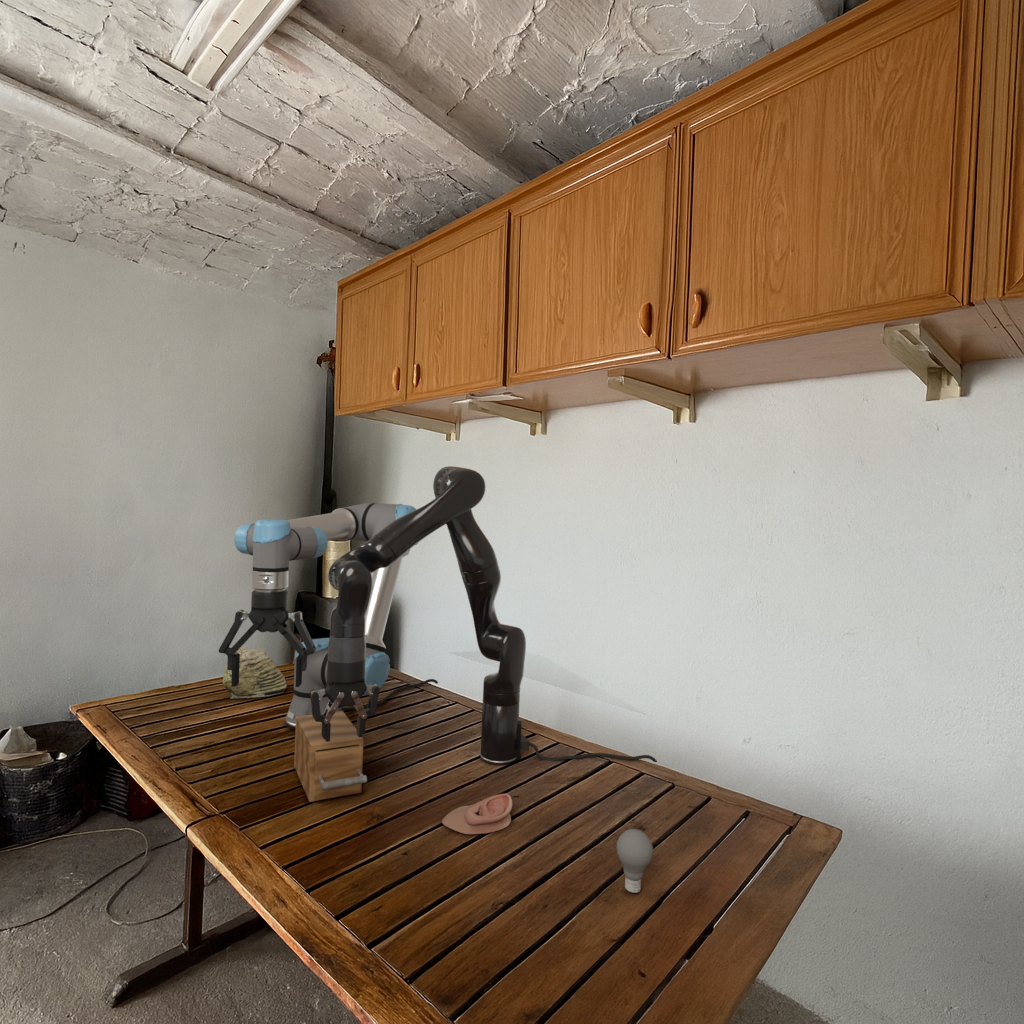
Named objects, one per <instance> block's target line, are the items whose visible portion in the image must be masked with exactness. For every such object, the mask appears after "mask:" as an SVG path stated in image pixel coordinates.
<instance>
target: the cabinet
mask: <svg viewBox="0 0 1024 1024" xmlns="http://www.w3.org/2000/svg"><path fill="white" fill-rule="evenodd" d="M322 714H323V713H322ZM330 723H331V730H330V741H329V742H326V741H325V739H323V737H322V735H321V732H322V722H316V721H315V720H314V718H313V715H305V716H297V717H296V729H295V730H294V733H295V734H294V757H293V760H294V762H293V767H294V769H295V772H296V774H297V776H298V779H299V781H300V783H301V785H302V789H303V791H304V792H305V795H306V797H307V800H308V802H309V803H312V802H313V803H314V802H317V801H324V800H328V799H334V798H339V797H347V796H351V795H356V794H362V791H363V789H362V788H363V784H361V792H359V793H353V794H348V795H342V796H337V797H331V798H325V799H320V800H314V799H313V790H314V764H315V752H316V750H323V749H330V748H337V747H344V746H351V745H355V746H360V745H362V747H363V748H364V741H365V740H364V737H363V736H362V737H358V736H357V727H356V726H355V725H354V724H353V723H352V721H351V720H350V719H349V717H348V716H347V715H346V713H345V711H339V712H335V714H334V715H333V716H332V718H331V720H330ZM363 764H364V756H363V757H362V769H363Z"/></svg>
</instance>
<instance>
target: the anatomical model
mask: <svg viewBox="0 0 1024 1024" xmlns="http://www.w3.org/2000/svg"><path fill="white" fill-rule="evenodd" d="M512 809H513V799H512V796H511V795H510V794H509V793H500V794H496V795H492V796H489V797H486V798H484V799H482V800H480V801H478V802H476V803H473V804H470V805H463V806H462V805H461V806H459V807H457V808H455V809H453V810H451V811H450V812H448V813H447V814H446V815H445V816H444V817H443V818H442V819H441V824H443V826H445V827H446V828H449V829H450V830H452V831H455V832H458V833H461V834H464V835H480V834H482V835H483V834H488V833H489V834H490V833H494V832H497V831H500V830H504V829H505V828H507V827H509V825H510V824H511V823H512V818H511V817H512V816H511V812H512Z"/></svg>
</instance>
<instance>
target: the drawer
mask: <svg viewBox="0 0 1024 1024" xmlns="http://www.w3.org/2000/svg"><path fill="white" fill-rule="evenodd" d="M362 757H363V758H364V746H363V747H362V745H360V746H355V745H351V746H344V747H337V748H330V749H323V750H316V752H315V764H314V790H313V799H314V800H318V801H321V800H320V799H324V800H326V799H325V798H329V799H332V798H331V797H335V798H338V797H337V796H340V797H343V796H342V795H346V796H349V795H348V794H351V795H354V794H353V793H357V794H360V793H359V792H361V784H362V785H363V784H366V783H368V777H367V775H366V774H363V768H362ZM361 793H362V792H361Z"/></svg>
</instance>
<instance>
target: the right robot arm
mask: <svg viewBox="0 0 1024 1024" xmlns="http://www.w3.org/2000/svg"><path fill="white" fill-rule="evenodd" d="M432 483H433V486H432V490H433V494H434V495H433V496H434V497H435V498H434V499H432V500H431V501H429V502H428V503H426V504H424V505H423V506H420V507H419V508H416V510H415V511H412V512H410V513H408V514H406V515H404V516H402V517H400V518H398V519H396V520H394V521H393V522H391V523H390V524H388V525H387V526H386V527H384V528H383V529H382V530H381V531H379V532H378V533H377V534H376V535H374V536H373V537H372V538H371V539H370V540H368V541H367V542H366V541H365V542H363V543H361V544H360V545H358V546H356V547H355V548H353V549H351V550H349V551H347V552H346V553H344V554H343V555H341V556H340V557H339V558H337V559H336V560H335V561H334V562H333V563H332V564H331V566H330V568H329V569H328V574H327V580H328V583H329V584H330V586H331V587H332V588H333V589H334V590H336V591H337V593H338V594H337V602H336V606H334V607H333V609H332V610H331V612H330V613H331V614H330V621H329V622H330V623H329V625H330V626H329V629H330V630H329V638H330V639H329V644H328V652H327V656H328V663H327V683H326V686H325V687H324V689H321V690H315V689H312V690H311V691H310V697H311V706H312V715H313V718H314V720H315V721H316V722H322V732H321V735H322V737H323V739H325V741H326V742H329V741H330V730H331V723H330V720H331V718H332V716H333V715H334V714H335V712H336V710H337V708H346V707H347V708H348V707H355V708H356V710H355V711H356V712H357V714H358V716H356V717H357V718H356V730H357V736H358V737H362V738H363V735H365V734H366V731H367V730H366V728H367V719H368V718H369V717H370V716H374V715H376V713H377V708H378V706H377V702H379V696H380V690H381V689H380V688H379V687H378V686H377V685H376V684H372V685H366V684H365V660H366V640H365V628H366V611H367V608H368V604H369V600H370V596H371V591H372V574H371V573H373V572H374V571H376V570H377V569H380V568H385V567H388V566H390V565H391V564H393V563H394V562H395V561H396V560H398V559H399V558H400V557H401V556H402V555H404V554H405V553H406V552H407V551H408V550H410V551H411V549H412V548H414V547H416V546H417V545H418V544H419V543H420V542H421V541H422V540H425V538H427V537H428V536H430V535H431V534H433V533H434V532H436V531H437V530H438V529H440V528H442V527H444V526H445V525H446V527H447V530H448V533H449V536H450V537H449V538H450V540H451V544H452V547H453V550H454V553H455V557H456V561H457V566H458V570H459V572H460V575H461V580H462V582H463V585H464V589H465V591H466V595H467V598H468V603H469V606H470V611H471V614H472V619H473V626H474V631H475V637H476V642H477V646H478V650H479V652H480V653H481V655H482V656H483V657H484V658H486V659H487V660H490V661H493V662H494V661H495V662H498V663H499V666H498V671H497V672H492V673H490V674H486V676H485V677H484V678H483V684H482V685H483V686H482V707H481V708H482V709H481V710H482V711H481V713H482V714H481V731H480V732H481V734H480V744H479V750H480V751H479V758H480V759H481V761H483V762H485V763H488V764H492V765H509V764H512V763H514V762H517V761H518V760H519V761H520V760H521V752H524V751H526V752H527V751H530V747H531V748H533V749H534V750H535V755H536V757H537V758H538V759H540V760H542V761H553V762H554V761H556V762H557V761H559V762H560V761H565V760H576V759H577V760H578V759H585V758H591V757H604V758H611V759H612V758H613V759H618V760H626V761H636V760H642V759H649V760H651V761H652V762H653V763H658V760H657V759H656V758H655V757H653V756H652V755H651V754H650V755H649V754H641V755H636V756H627V755H626V756H625V755H619V754H613V753H603V752H590V753H583V754H576V755H564V756H563V755H562V756H558V757H545V756H543V755H541V754H540V751H539V747H538V746H537V745H536V744H535V743H533V742H530V740H529V739H527V737H526V736H525V735H524V734H522V730H523V729H522V727H523V722H522V720H521V719H520V702H521V701H520V699H521V684H522V681H523V677H524V672H525V661H526V654H527V653H526V652H527V651H526V650H527V637H526V634H525V632H524V631H523V629H522V628H520V627H518V626H514V625H509V624H504V623H501V622H500V621H499V619H498V616H497V611H496V608H495V601H496V598H497V595H498V592H499V591H500V590H499V589H500V586H501V582H502V574H501V569H500V566H499V561H498V558H497V557H498V556H497V554H496V552H495V549H494V548H493V546H492V544H491V542H490V541H489V539H488V538H487V536H486V535H485V533H484V532H483V530H482V529H481V527H480V526H479V524H478V522H477V521H476V519H475V516H474V514H473V510H472V509H473V508H475V507H477V506H478V505H479V504H480V503H481V501H482V500H483V498H484V496H485V493H486V481H485V479H484V477H483V476H482V475H481V473H480V472H478V471H477V470H474V469H470V468H466V467H459V466H453V465H452V466H449V465H448V466H444V467H442V468H440V469H439V470H437V472H436V474H435V476H434V478H433V482H432ZM417 543H418V544H417ZM416 544H417V545H416ZM366 690H367V693H368V694H369V695H368V699H367V700H368V701H367V705H368V706H367V708H366V709H364V707H363V706H364V705H363V703H362V701H361V699H362V697H363V696H364V695H363V694H364V693H365V691H366ZM325 694H326V696H327V697H328V698H329V701H328V703H327V705H326V709H325V711H324V713H323V714H321V713H320V704H319V701H321V700H322V697H323V695H325Z"/></svg>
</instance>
